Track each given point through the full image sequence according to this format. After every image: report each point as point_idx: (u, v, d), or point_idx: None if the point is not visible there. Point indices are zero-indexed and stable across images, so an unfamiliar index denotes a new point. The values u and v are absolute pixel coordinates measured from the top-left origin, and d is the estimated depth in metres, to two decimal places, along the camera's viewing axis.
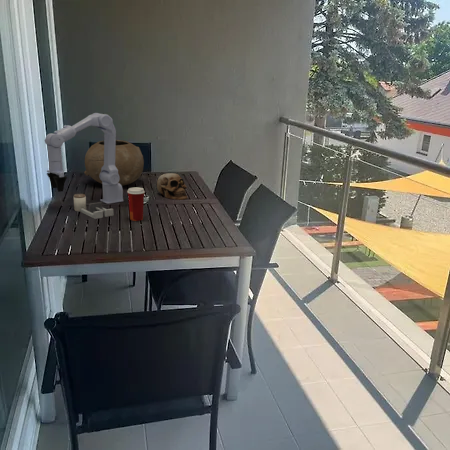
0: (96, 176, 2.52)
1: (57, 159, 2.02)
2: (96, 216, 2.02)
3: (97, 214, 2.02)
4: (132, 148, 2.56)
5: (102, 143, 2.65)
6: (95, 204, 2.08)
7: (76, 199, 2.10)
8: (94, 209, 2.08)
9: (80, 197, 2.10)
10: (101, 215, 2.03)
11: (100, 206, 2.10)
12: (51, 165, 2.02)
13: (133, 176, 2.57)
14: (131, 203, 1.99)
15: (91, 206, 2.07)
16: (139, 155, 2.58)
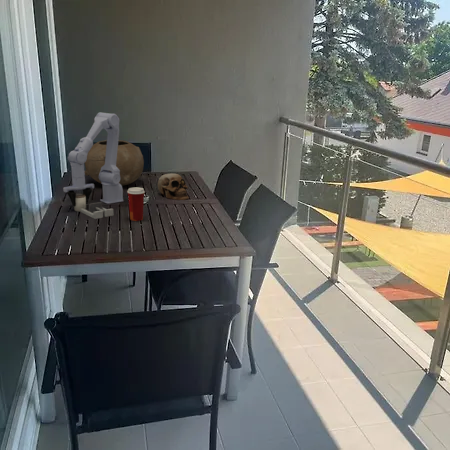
0: (96, 176, 2.52)
1: (82, 175, 2.07)
2: (96, 216, 2.02)
3: (97, 214, 2.02)
4: (132, 148, 2.56)
5: (102, 143, 2.65)
6: (95, 204, 2.08)
7: (76, 199, 2.10)
8: (94, 209, 2.08)
9: (80, 197, 2.10)
10: (101, 215, 2.03)
11: (100, 206, 2.10)
12: None
13: (133, 176, 2.57)
14: (131, 203, 1.99)
15: (91, 206, 2.07)
16: (139, 155, 2.58)
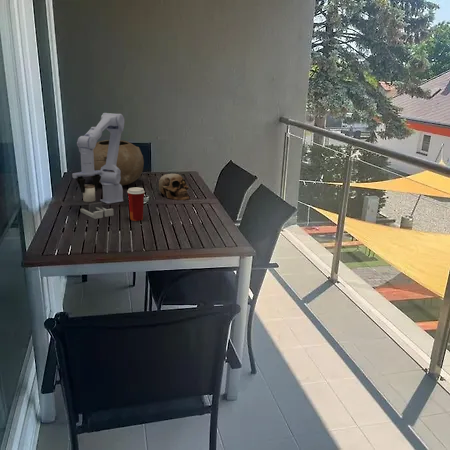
0: None
1: (92, 161, 2.05)
2: (96, 216, 2.02)
3: (97, 214, 2.02)
4: (132, 148, 2.56)
5: (102, 143, 2.65)
6: (95, 204, 2.08)
7: (85, 189, 2.07)
8: (94, 209, 2.08)
9: (89, 187, 2.07)
10: (101, 215, 2.03)
11: (100, 206, 2.10)
12: None
13: (133, 176, 2.57)
14: (131, 203, 1.99)
15: (91, 206, 2.07)
16: (139, 155, 2.58)
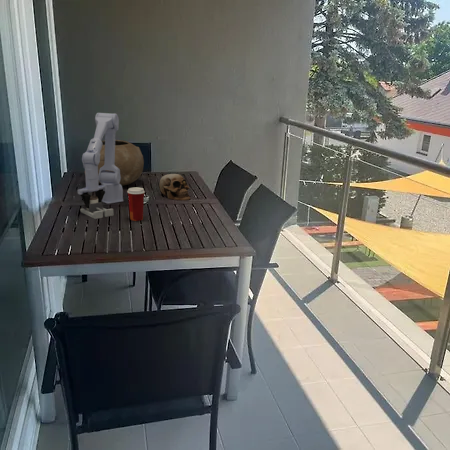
0: None
1: (97, 176, 2.05)
2: (96, 216, 2.02)
3: (97, 214, 2.02)
4: (132, 148, 2.56)
5: None
6: (96, 204, 2.08)
7: None
8: (94, 209, 2.08)
9: (93, 199, 2.08)
10: (101, 215, 2.03)
11: (100, 206, 2.10)
12: None
13: (133, 176, 2.57)
14: (131, 203, 1.99)
15: (91, 206, 2.06)
16: (139, 155, 2.58)
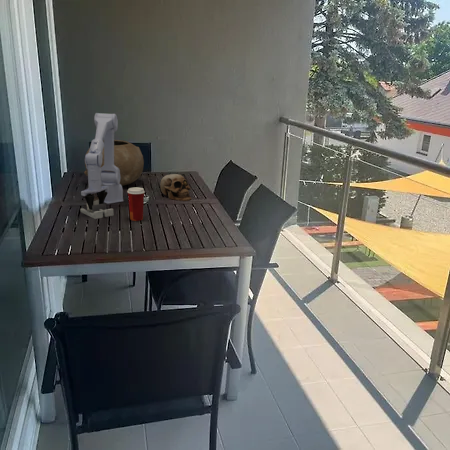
0: None
1: (100, 177, 2.04)
2: (96, 216, 2.02)
3: (97, 214, 2.02)
4: (132, 148, 2.56)
5: None
6: (99, 205, 2.06)
7: None
8: None
9: None
10: (101, 215, 2.03)
11: (104, 208, 2.08)
12: None
13: (133, 176, 2.57)
14: (131, 203, 1.99)
15: (95, 208, 2.04)
16: (139, 155, 2.58)
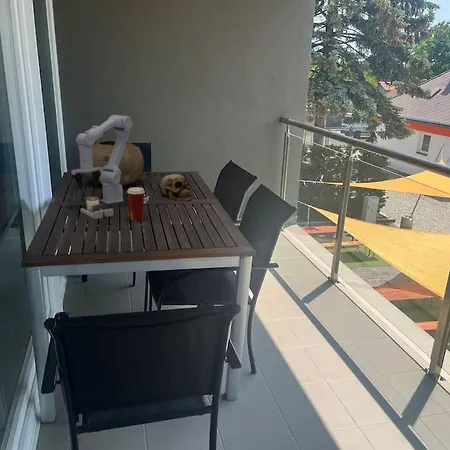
0: None
1: (90, 158, 2.09)
2: (96, 216, 2.02)
3: (97, 214, 2.02)
4: (132, 148, 2.56)
5: (102, 143, 2.65)
6: (99, 205, 2.06)
7: (88, 202, 2.06)
8: None
9: (92, 200, 2.06)
10: (101, 215, 2.03)
11: (104, 208, 2.08)
12: None
13: (133, 176, 2.57)
14: (131, 203, 1.99)
15: (95, 208, 2.04)
16: (139, 155, 2.58)
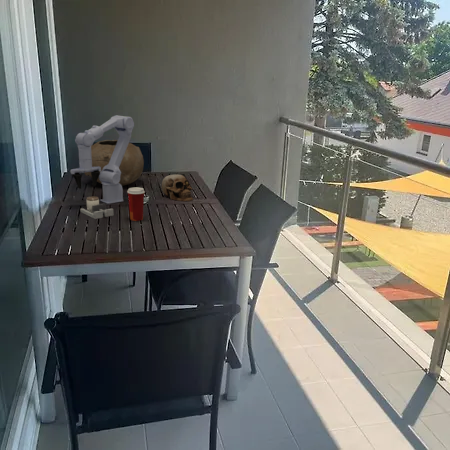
0: None
1: (88, 157, 2.10)
2: (96, 216, 2.02)
3: (97, 214, 2.02)
4: (132, 148, 2.56)
5: (102, 143, 2.65)
6: (99, 205, 2.06)
7: (88, 202, 2.06)
8: None
9: (92, 200, 2.06)
10: (101, 215, 2.03)
11: (104, 208, 2.08)
12: None
13: (133, 176, 2.57)
14: (131, 203, 1.99)
15: (95, 208, 2.04)
16: (139, 155, 2.58)
